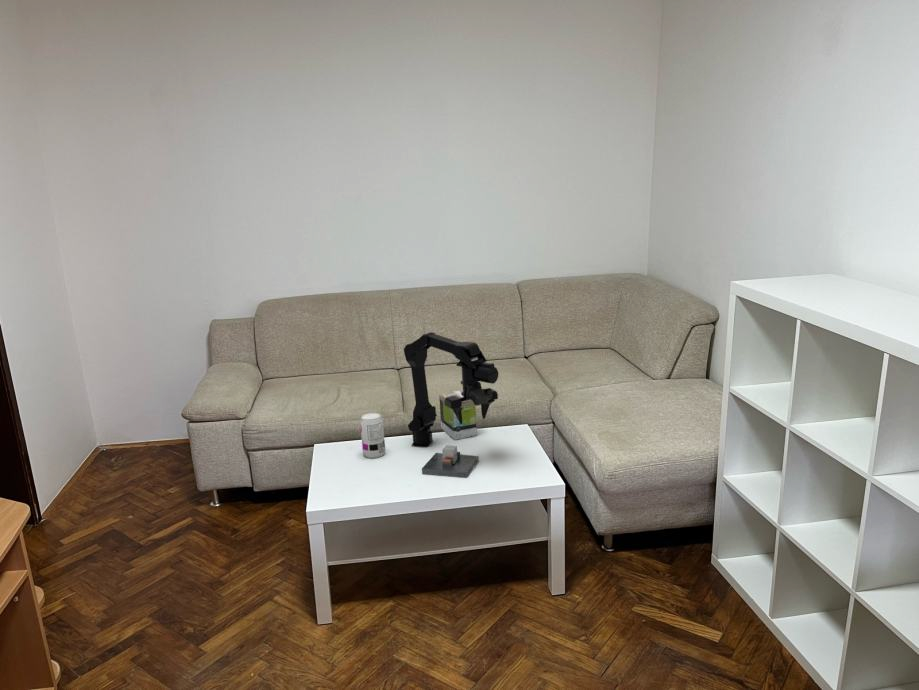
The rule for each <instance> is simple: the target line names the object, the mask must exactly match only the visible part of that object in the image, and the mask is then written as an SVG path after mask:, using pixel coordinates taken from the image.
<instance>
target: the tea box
mask: <svg viewBox="0 0 919 690" xmlns="http://www.w3.org/2000/svg"><path fill="white" fill-rule="evenodd" d="M461 392H463V390H456V391H450V392H444V393H439V394H438V395H439V398H438V399H439V410H440V411H439V413H440V428H441V430H443V431H444V432H445V433H446V434H447V435H448V436H449V437H451V439H453V440H461V439H466V437H467V438H471V436H472V437H477V435H478V428H477V427H478V426H477V424H478V423H477V408H476V407H477V406H476V405H475V404H474V403H473V401H469V402H464V403H462V405H461V407H462V408H463V409H462V411H461V412H462V424H460V423H459V421H458V419H457V417H456V415H455V413H454V411H453V409H451V408H449V407H447V406H446V405H445V403H444V400H445V398H446V397H450V396H456V397H458V398H461V397H463V396H462V395H461Z"/></svg>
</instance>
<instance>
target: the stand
mask: <svg viewBox="0 0 919 690" xmlns="http://www.w3.org/2000/svg"><path fill="white" fill-rule="evenodd" d="M457 456H458V460H457V461H456V462H455V463H454V464H452V459H443V455H442V453H441V452H435V453H434V454H433V455H432V456H431V457H430V458H429V460H428V461H427V462H426V463H425V464H424V466H423V467H422V468H421V473H422V475H429V476H438V477H439V476H441V477H442V476H443V477H453V478H465V479H466V478H468V476H469V475H470V473H472V471H473V470H474V468H476V465H477V464H478V463H479V461H480V460H479V455H470V454H468V455H467V454H461V451H457Z"/></svg>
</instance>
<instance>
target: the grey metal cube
mask: <svg viewBox="0 0 919 690" xmlns="http://www.w3.org/2000/svg"><path fill="white" fill-rule="evenodd" d="M441 452H442V455H443V459H452V464H454V463H455V462H456V461H457V460H458V456H457V452H458V445H447V444H446V445H445V446H444V447H443V448H442V450H441Z"/></svg>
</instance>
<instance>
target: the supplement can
mask: <svg viewBox="0 0 919 690" xmlns="http://www.w3.org/2000/svg"><path fill="white" fill-rule="evenodd" d="M359 425H360V436H361V437H360V438H361V444H362V445H361V446H362V454H363V456H364V457H366V458H367V459H376V458H380V457H383V456H384V455H385V453H386V443H385V442H386V441H385V431H384V419H383V417H382V416H381V413H378V412H370V413H365V414H362V415H361V418H360V420H359Z"/></svg>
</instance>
